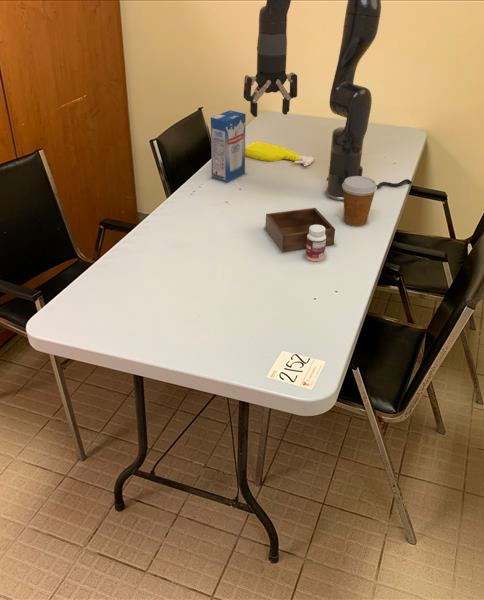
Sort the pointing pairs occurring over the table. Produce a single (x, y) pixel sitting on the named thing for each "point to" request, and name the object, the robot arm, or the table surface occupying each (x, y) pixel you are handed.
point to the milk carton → (228, 145)
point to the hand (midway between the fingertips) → (269, 114)
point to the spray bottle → (274, 153)
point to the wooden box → (296, 228)
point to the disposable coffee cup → (358, 199)
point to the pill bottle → (316, 243)
